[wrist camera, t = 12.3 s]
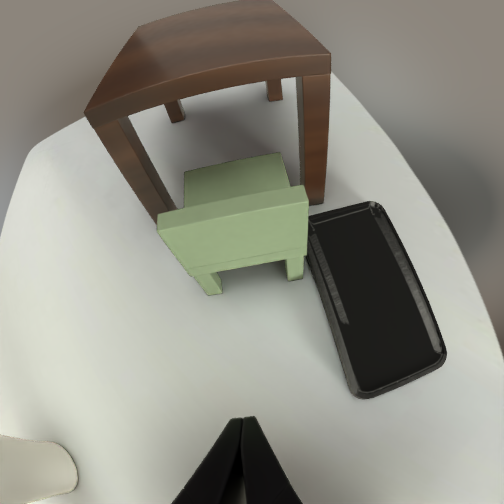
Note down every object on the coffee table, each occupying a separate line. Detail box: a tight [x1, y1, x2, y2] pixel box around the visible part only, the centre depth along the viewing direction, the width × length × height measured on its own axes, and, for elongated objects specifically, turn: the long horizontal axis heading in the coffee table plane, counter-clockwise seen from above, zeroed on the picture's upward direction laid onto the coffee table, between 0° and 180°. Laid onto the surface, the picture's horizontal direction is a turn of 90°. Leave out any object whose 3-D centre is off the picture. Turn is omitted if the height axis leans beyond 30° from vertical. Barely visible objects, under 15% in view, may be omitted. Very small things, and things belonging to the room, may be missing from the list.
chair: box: [157, 152, 309, 295], centre depth 21 cm, size 9×8×10 cm
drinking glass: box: [0, 435, 78, 504], centre depth 10 cm, size 7×7×15 cm
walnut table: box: [84, 0, 331, 225], centre depth 25 cm, size 20×15×14 cm
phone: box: [306, 201, 447, 399], centre depth 21 cm, size 8×1×15 cm
